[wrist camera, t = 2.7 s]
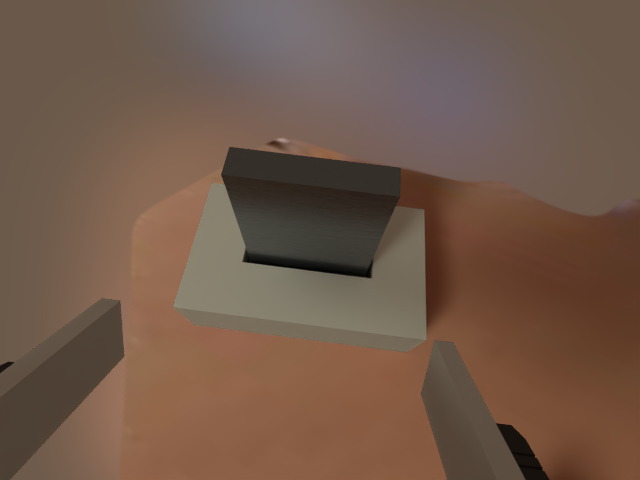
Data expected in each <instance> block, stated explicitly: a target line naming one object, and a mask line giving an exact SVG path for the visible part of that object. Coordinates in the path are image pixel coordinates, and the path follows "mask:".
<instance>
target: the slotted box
mask: <svg viewBox="0 0 640 480" xmlns="http://www.w3.org/2000/svg"><path fill="white" fill-rule="evenodd" d="M173 308H175V309H176V310H177V311H178V312H179V313H181V314H182V315H183V316H184V317H185V318H187V319H188V320H189V321H190V322H191V323H192V324H194V325H199V326H206V327H214V328H222V329H230V330H237V331H245V332H253V333H260V334H268V335H276V336H283V337H291V338H299V339H306V340H314V341H322V342H329V343H337V344H345V345H352V346H360V347H368V348H375V349H383V350H391V351H398V352H408V351H410V350H411V349H413V348H414V347H416V346H418V345H419V344H421V343H423V342H424V341H426V279H425V219H424V209H417V208H409V207H401V206H396V207H395V209H394V211H393V213H392V216H391V218H390V220H389V222H388V225H387V227H386V229H385V232H384V234H383V236H382V238H381V241H380V243H379V245H378V247H377V250H376V252H375V254H374V256H373V259H372V261H371V263H370V266H369V268H368V270H367V272H366V275H365V277H364V278H363V277H355V276H347V275H339V274H331V273H323V272H316V271H308V270H300V269H292V268H284V267H276V266H268V265H261V264H253V263H251V261H250V258H249V255H248V252H247V249H246V246H245V243H244V241H243V238H242V235H241V232H240V229H239V226H238V223H237V220H236V217H235V214H234V211H233V208H232V205H231V202H230V199H229V196H228V193H227V190H226V187H225V185H224V184H216V183H212V185H211V188H210V191H209V194H208V198H207V201H206V204H205V207H204V210H203V214H202V217H201V220H200V223H199V226H198V230H197V233H196V236H195V239H194V242H193V245H192V249H191V252H190V255H189V258H188V261H187V265H186V268H185V271H184V274H183V277H182V281H181V284H180V287H179V290H178V293H177V297H176V300H175V303H174V306H173Z"/></svg>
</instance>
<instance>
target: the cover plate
mask: <svg viewBox="0 0 640 480" xmlns="http://www.w3.org/2000/svg"><path fill="white" fill-rule="evenodd" d="M221 175H222V178H223V181H224V184H225V187H226V190H227V193H228V196H229V199H230V202H231V205H232V208H233V211H234V214H235V217H236V220H237V223H238V226H239V229H240V232H241V235H242V238H243V241H244V243H245V246H246V249H247V252H248V255H249V258H250V261H251V263H253V264H261V265H268V266H276V267H284V268H292V269H300V270H308V271H316V272H323V273H331V274H339V275H347V276H355V277H363V278H364V277H365V275H366V272H367V270H368V268H369V266H370V263H371V261H372V259H373V256H374V254H375V252H376V250H377V247H378V245H379V243H380V241H381V238H382V236H383V234H384V232H385V229H386V227H387V225H388V222H389V220H390V218H391V216H392V213H393V211H394V209H395V207H396V204H397V202H398V200H399V198H400V168H397V167H389V166H381V165H372V164H364V163H356V162H348V161H340V160H332V159H324V158H315V157H307V156H299V155H291V154H283V153H275V152H266V151H258V150H250V149H242V148H234V147H230V148H229V151H228V154H227V157H226V160H225V164H224V167H223V170H222V174H221Z"/></svg>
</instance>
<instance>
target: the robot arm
mask: <svg viewBox="0 0 640 480" xmlns="http://www.w3.org/2000/svg"><path fill="white" fill-rule="evenodd" d="M123 357H124V345H123V333H122V319H121V304H120V301H119V300H112V299H104V298H102V299H100V300H99V301H98V302H96V303H95V304H94V305H92V306H91V307H90V308H88V309H87V310H86V311H84V312H83V313H81V314H80V315H79V316H77V317H76V318H75V319H73V320H72V321H71V322H69V323H68V324H66V325H65V326H64V327H62V328H61V329H60V330H58V331H57V332H56V333H54V334H53V335H52V336H50V337H49V338H47V339H46V340H45V341H43V342H42V343H41V344H39V345H38V346H37V347H35V348H34V349H32V350H31V351H30V352H28V353H27V354H26V355H24V356H23V357H22V358H20V359H19V360H17V361H16V362H15V363H14V362H7V363H5V364H3V365H1V366H0V480H10V479H11V478H12V477H13V476H14V475H15V474H16V473H17V472H18V470H20V469H21V467H22V466H23V465H24V464H25V463H26V462H27V461H28V460H29V459H30V458H31V456H32V455H33V454H34V453H35V452H36V451H37V450H38V449H39V448H40V447H41V446H42V445H43V444H44V443H45V441H46V440H47V439H48V438H49V437H50V436H51V435H52V434H53V433H54V432H55V431H56V430H57V428H58V427H59V426H60V425H61V424H62V423H63V422H64V421H65V420H66V419H67V418H68V417H69V415H70V414H71V413H72V412H73V411H74V410H75V409H76V408H77V407H78V406H79V405H80V404H81V403H82V401H83V400H84V399H85V398H86V397H87V396H88V395H89V394H90V393H91V392H92V391H93V390H94V388H95V387H96V386H97V385H98V384H99V383H100V382H101V381H102V380H103V379H104V378H105V377H106V375H107V374H108V373H109V372H110V371H111V370H112V369H113V368H114V367H115V366H116V365H117V364H118V362H119V361H120V360H121V359H122V358H123ZM421 396H422V399H423V402H424V405H425V409H426V412H427V415H428V418H429V422H430V425H431V428H432V431H433V435H434V438H435V441H436V444H437V448H438V451H439V454H440V458H441V461H442V464H443V467H444V471H445V474H446V477H447V480H549V478H548V476H547V475H546V473H545V471H543V470H542V466H541V465H540V463H539V461H538V459H537V458H535V454H534V453H533V451H532V449H531V448H530V446H529V444H528V443H527V441H526V439H525V438H524V437H523V436H522V435H521V434H520V433H519V432H518V431H517V430H516V429H515V428H514V427H513V426H512V425H505V424H497V423H495V421H494V419H493V417H492V415H491V413H490V411H489V410H488V408H487V406H486V404H485V402H484V400H483V398H482V396H481V394H480V393H479V391H478V389H477V387H476V385H475V383H474V381H473V379H472V377H471V375H470V374H469V372H468V370H467V368H466V366H465V364H464V362H463V360H462V358H461V357H460V355H459V353H458V351H457V349H456V347H455V345H454V343H453V342H445V341H437V340H434V344H433V348H432V352H431V356H430V360H429V364H428V368H427V372H426V376H425V380H424V384H423V388H422V392H421Z"/></svg>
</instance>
